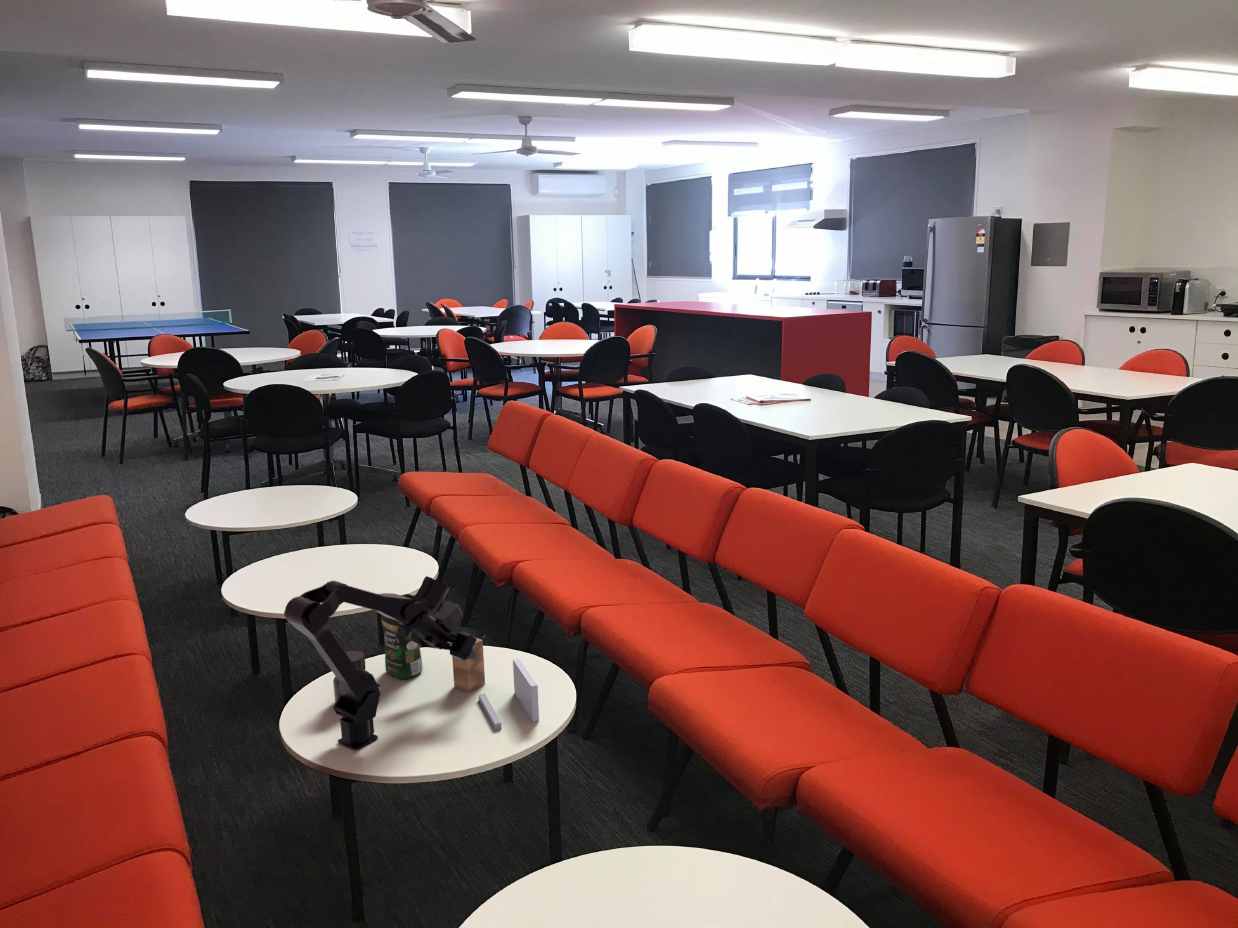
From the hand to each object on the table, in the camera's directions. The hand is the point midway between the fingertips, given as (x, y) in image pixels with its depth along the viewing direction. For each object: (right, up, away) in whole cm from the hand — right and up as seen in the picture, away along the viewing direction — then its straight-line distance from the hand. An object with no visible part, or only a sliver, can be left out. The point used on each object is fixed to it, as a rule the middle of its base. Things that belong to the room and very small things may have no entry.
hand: (462, 652), depth 233 cm
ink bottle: (-26, -12, -4) cm, 29 cm away
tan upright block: (+1, -9, +3) cm, 10 cm away
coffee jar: (-17, -8, +11) cm, 22 cm away
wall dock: (+13, -12, -10) cm, 20 cm away
